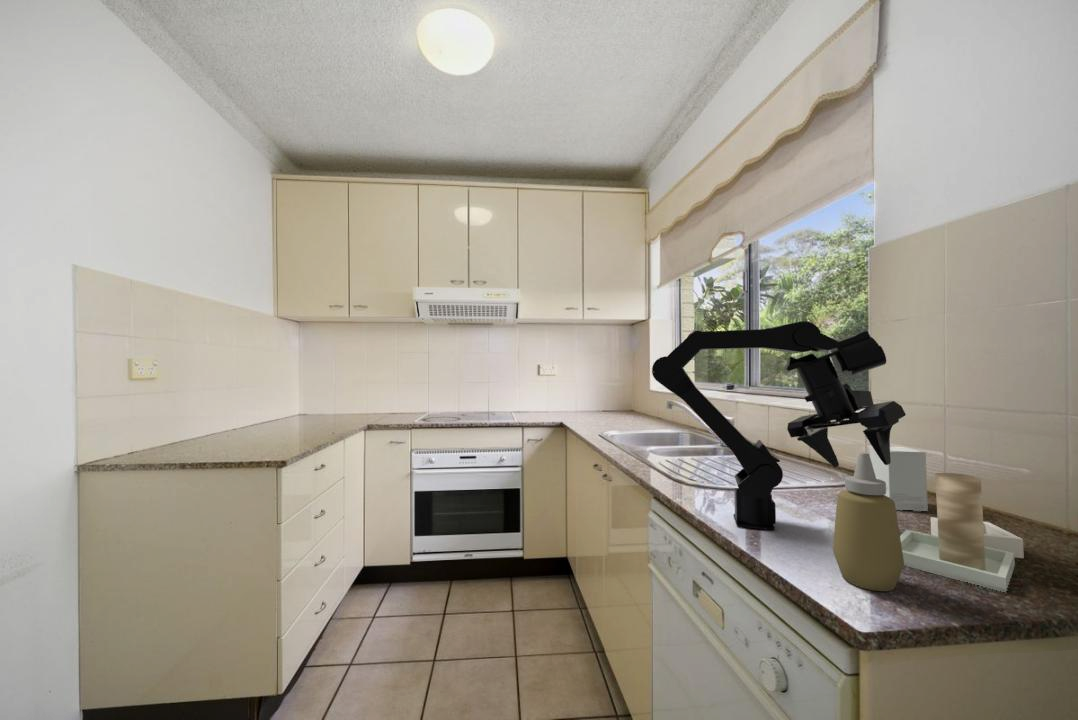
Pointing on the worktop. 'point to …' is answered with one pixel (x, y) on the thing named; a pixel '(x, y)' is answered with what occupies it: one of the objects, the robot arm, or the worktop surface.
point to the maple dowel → (960, 519)
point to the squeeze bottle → (867, 531)
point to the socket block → (994, 538)
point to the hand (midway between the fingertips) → (861, 465)
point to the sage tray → (925, 557)
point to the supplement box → (903, 477)
